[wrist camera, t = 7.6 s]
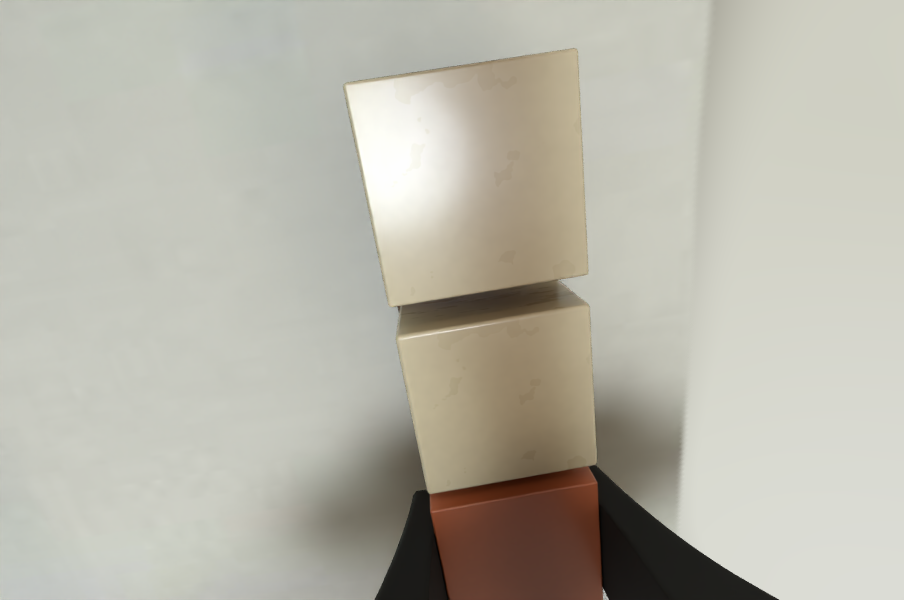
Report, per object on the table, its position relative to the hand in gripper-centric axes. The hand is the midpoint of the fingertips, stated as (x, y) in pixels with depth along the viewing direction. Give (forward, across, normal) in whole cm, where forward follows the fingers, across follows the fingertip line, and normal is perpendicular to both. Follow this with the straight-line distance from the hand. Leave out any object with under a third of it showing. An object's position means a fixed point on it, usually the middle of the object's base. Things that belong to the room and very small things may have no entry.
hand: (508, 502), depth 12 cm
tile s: (0, 0, 0) cm, 0 cm away
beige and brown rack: (+1, 0, -5) cm, 5 cm away
